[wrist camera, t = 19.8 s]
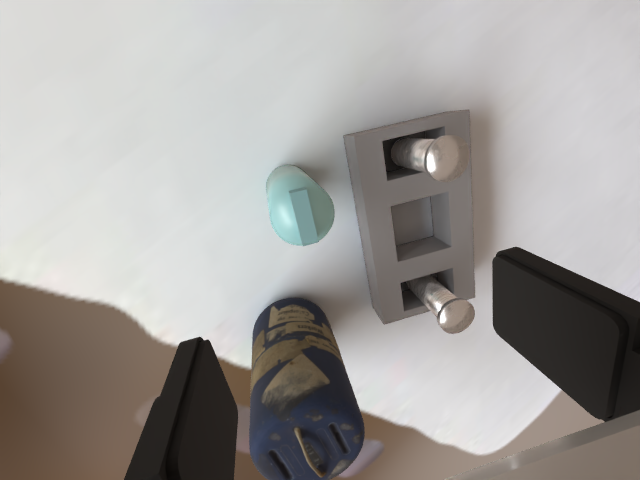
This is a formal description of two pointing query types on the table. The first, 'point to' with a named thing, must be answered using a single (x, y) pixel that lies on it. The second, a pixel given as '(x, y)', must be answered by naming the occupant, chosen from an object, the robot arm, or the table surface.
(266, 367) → the canister
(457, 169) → the plunger
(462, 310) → the plunger
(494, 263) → the robot arm
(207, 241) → the table surface
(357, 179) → the housing
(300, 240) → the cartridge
